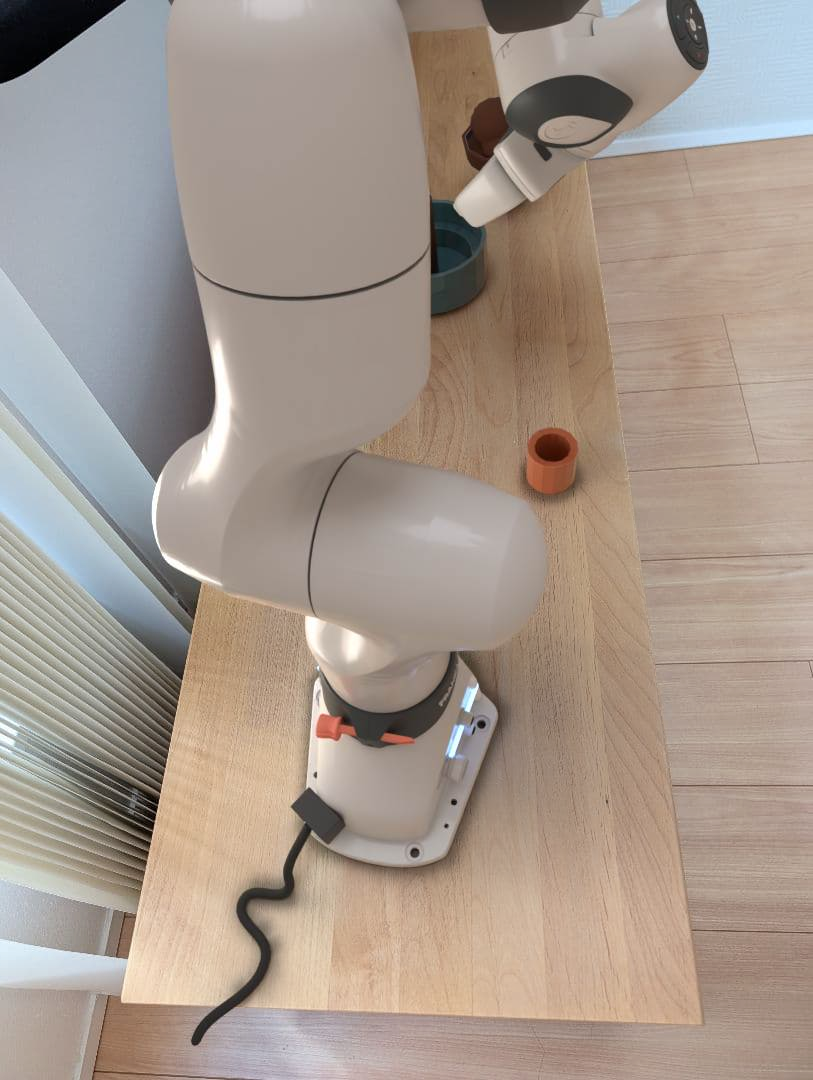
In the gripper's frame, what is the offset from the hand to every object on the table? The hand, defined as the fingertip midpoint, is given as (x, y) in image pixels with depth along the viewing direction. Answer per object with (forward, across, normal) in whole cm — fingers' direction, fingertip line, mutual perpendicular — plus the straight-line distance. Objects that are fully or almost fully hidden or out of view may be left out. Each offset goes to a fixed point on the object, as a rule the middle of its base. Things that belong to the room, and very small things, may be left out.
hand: (481, 183), depth 90 cm
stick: (+18, 0, +6) cm, 19 cm away
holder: (-2, +22, +28) cm, 35 cm away
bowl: (+18, 0, +6) cm, 19 cm away
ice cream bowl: (+18, -20, +6) cm, 28 cm away
